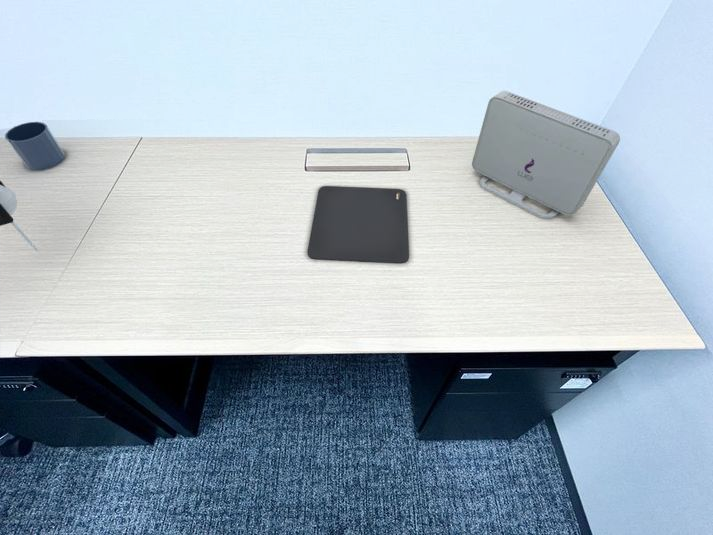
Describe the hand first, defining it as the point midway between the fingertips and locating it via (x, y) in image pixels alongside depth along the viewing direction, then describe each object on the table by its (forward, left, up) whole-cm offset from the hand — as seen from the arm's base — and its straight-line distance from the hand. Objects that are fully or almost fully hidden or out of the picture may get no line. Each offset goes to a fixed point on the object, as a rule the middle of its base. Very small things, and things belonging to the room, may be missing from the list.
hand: (2, 211), depth 67 cm
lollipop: (0, 0, -10) cm, 10 cm away
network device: (+97, -29, -13) cm, 102 cm away
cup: (+2, +38, -13) cm, 40 cm away
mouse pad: (+59, -20, -13) cm, 64 cm away
